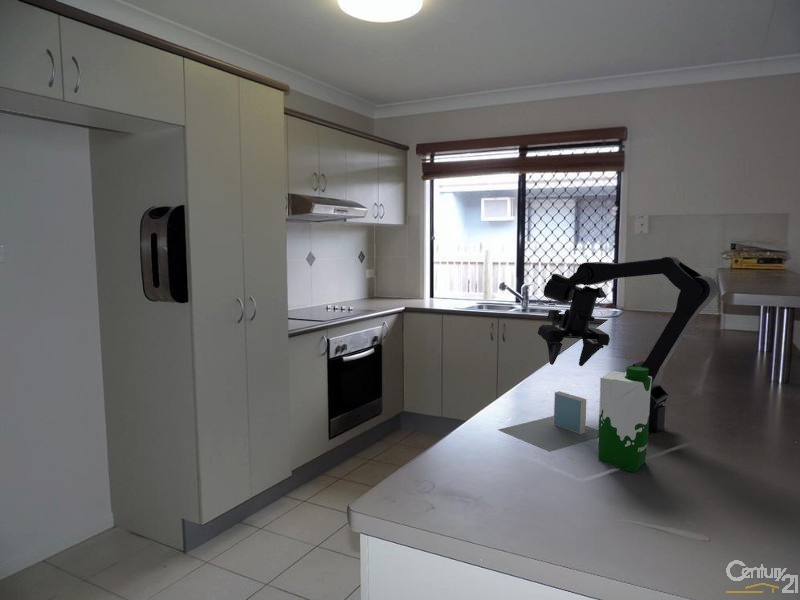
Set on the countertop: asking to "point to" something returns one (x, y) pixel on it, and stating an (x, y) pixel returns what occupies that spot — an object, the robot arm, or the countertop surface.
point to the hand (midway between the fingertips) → (565, 365)
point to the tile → (570, 412)
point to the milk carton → (624, 418)
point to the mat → (549, 434)
